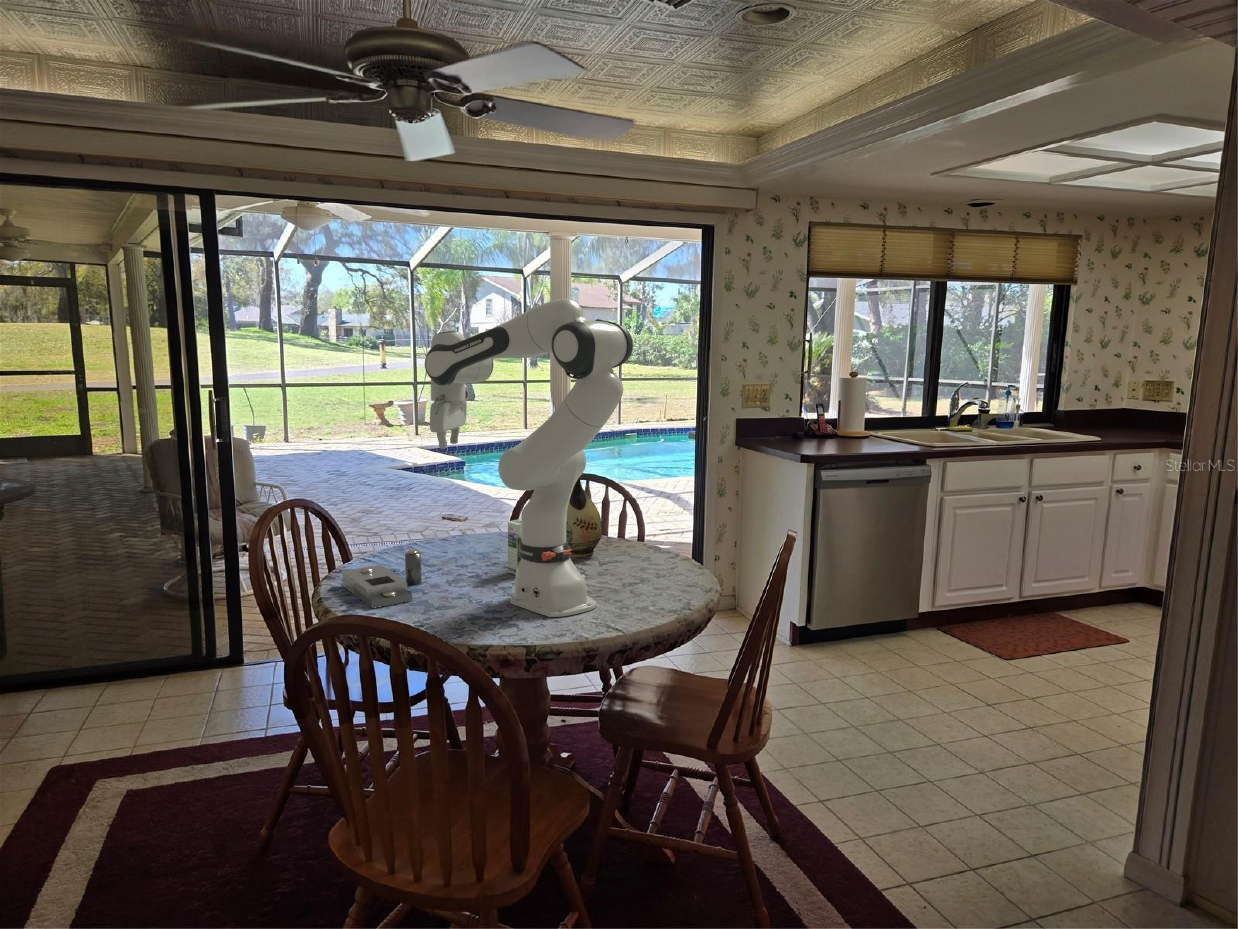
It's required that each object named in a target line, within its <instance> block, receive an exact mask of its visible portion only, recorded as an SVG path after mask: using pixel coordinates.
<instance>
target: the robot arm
mask: <svg viewBox="0 0 1238 929" xmlns="http://www.w3.org/2000/svg"><path fill="white" fill-rule="evenodd" d="M633 349H634V340H633V338H632V335H631V333H630V332H629V331H628V329H627V328H625V327H624V326H622V325H620V324H618V323H616V322H613V321H608V320H602V319H599V318H597V319H595V320H590V319H588V318H587V317H586V316H585V313H584V310H583V308H582V306H581V305H580V304H579V303H578V302H577V301H576V300H574V299H571V298H569V297H568V298H567V297H566V298H565V297H564V298H559V299H558V298H557V299H554V300H550V301H547V302H544V303H542V304H540V305H537V306H536V307H533V308H530V309H529V310H527V311H525V312H524V313H521V314H518V315H517V316H515V317H513V318H511V319H509V320H507V321H504V322H503V323H500V324H498V325H496V326H495V327H492V328H490V329H488V330H486V331H482V332H480V333H477V334H475V335H473V336H470V337H467V338H465V337H464V335H463V333H461V332H459V331H453V330H451V331H449V330H448V331H441V332H438V333H435V334H434V335H433V336H432V339H431V343H430V349H429V350H428V351H427V354H426V355H425V356H426V357H425V360H424V369H425V372H426V374H427V376H428V377H429V378H430V401H432V403H431V404H430V409H429V430H430V432H431V433H436V438H437V441H438V448H439V449H441V450H442V449H443V450H444V449H446V448H448V441H447V432H449V431H450V437H449V443H450V445H451V444H452V445H456V444H458V443H459V436H460V430H461V429H460V427H462V426H465V424H466V421H467V406H468V404H467V403H468V402H467V400H468V399H469V391H468V389H466V384H474V383H477V384H478V383H482V382H486V381H487V380H489V378H490V377H491V376H492V374H493V371H494V359H508V358H509V359H530V358H537V357H542V356H545V355H548V354H550V353H552V354H553V358H554V359H555V361H556V362H557V363H558V365H559V366H560V367H561V368H562V369H563V370H564V372H565V374H566V376H567V377H569V378H570V379H574V380H576V381H575V383H574V384H573V387H572V388H571V389H570V391H569V392H568V393H567V394H566V396H565V397H564V398H563V399H562V401H561V402H560V404H559V405H558V406H557V408H556V409H555V410H554V412H552V414H551V415H550V416H549V417H548V418H547V419H546V420H545V422H544V423H542V424H541V425H540V426H539V427H538V428H537V429H535V430H534V431H533V432H532V433H530V435H528V436H527V437H526V438H524V440H522V441H521V442H519V443H518V444H517V445H515V446H513V447H512V448H511V447H510V448H509V449H508V450H506V451H505V452H504V453H502V454H501V456H500V457H499V461H498V468H497V470H498V475H499V478H500V480H501V481H502V483H503V484H504V486H505V487H507V488H508V489H510V490H515V491H525V492H526V491H533V493H532V495H531V497H530V498H529V501H528V502H527V503H526V504H525V506H523V508H522V510H521V515H520V516H521V519H520V520H521V531H522V541H521V542H520V547H519V551H520V557H521V561H520V564H519V566H518V567H517V569H516V575H515V581H514V591H513V592H514V593H513V596H512V597H511V598H510V600H509V601H510V602H509V604H511V605H514V606H516V607H519V608H523V609H526V610H528V611H531V612H533V613H537V614H539V615H542V616H544V617H545V616H546V617H549V618H556V617H557V618H558V617H560V618H561V617H566V616H567V617H568V616H573V615H577V614H582V613H585V612H589V611H591V610H594V609H596V608H597V607H598V602H597V601H596V600H594V598H592V597H591V596H589V595H588V589H587V583H586V582H587V577H586V575H585V574H581V572H580V571H579V569H578V567H577V566H576V565H575V564H574V562H573V561H572V559H571V558H572V557H571V554H572V553H570V551H571V550H572V549H570V548H569V545H568V542H567V541H566V523H567V509H568V504H569V500H570V497H571V493H572V491H573V488H574V485H575V483H576V481H577V480H578V478H579V477H580V478H581V476H582V474H583V473H584V471H585V469H586V466H587V457H586V454H585V452H584V450H585V449H586V448H587V447H588V446H589V445H590V444H591V442H593V440H594V438H595V437H596V436H597V435H598V434H599V432H600V431H601V430H602V428H603V427H604V425H606V424H607V422H608V421H609V419H610V417H611V416H612V415H613V413H614V412H615V410H616V409H617V407H618V404H619V403H620V401H621V399H622V396H623V394H624V386H623V382H622V380H621V379H620V377H619V376H618V375H617V374H616V373H615V371H614V369H615V368H618V367H620V366H622V365H624V364H625V363H626V362H627V361H628V360H629V359H631V358H630V357H631V355H632V353H633V351H634V350H633Z"/></svg>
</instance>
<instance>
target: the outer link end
mask: <svg viewBox="0 0 1238 929" xmlns="http://www.w3.org/2000/svg"><path fill="white" fill-rule="evenodd" d="M341 574H342V576H341V577H342V586H343V588H344V589H346V588H347V589H348V590H347V589H346V590H347V591H349V592H350V591H351V592H352V593H354V588H356V589H357V590H358V591H359V592H361V593H362V594H363V595H365V596H366V597H367V598H368V597H373V596H378V595H383V592H387V591H395V592H400V591H406V590H408V585H407V582H406V580H404V579H403V578H401V577H400V576H398V575H397V574H395V573H393V572H392V571H390V570H389V569H387V568H386V567H384V566H382V565H381V564H379V565H371V566H365V567H360V568H353V569H347V570H342V572H341ZM351 592H350V593H351ZM352 593H351V594H352Z"/></svg>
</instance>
